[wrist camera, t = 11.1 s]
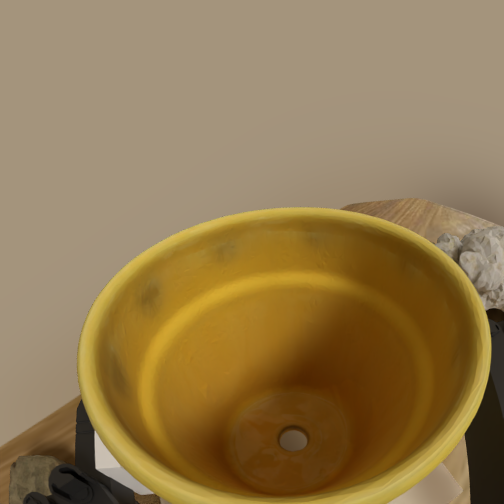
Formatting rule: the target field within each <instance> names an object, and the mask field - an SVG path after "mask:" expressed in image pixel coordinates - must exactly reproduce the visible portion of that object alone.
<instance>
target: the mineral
mask: <svg viewBox="0 0 504 504" xmlns="http://www.w3.org/2000/svg"><path fill="white" fill-rule="evenodd" d="M431 243H432V242H431ZM433 244H434V245H435V246H437V247H438V248H439V249H441V250H442V251H443V252H444V253H446V254H447V255H448V256H449V257H450V258H452V259H453V260H454V261H455V262H456V264H457V265H458V266H459V267H460V268H461V269H462V270H463V271H464V273H465V274H466V275H467V277H468V278H469V280H470V281H471V282H472V284H473V285H474V287H475V289H476V291H477V293H478V295H479V297H480V299H481V300H482V303H483V306H484V308H485V311H486V310H488V309H491V308H497V309H501V310H502V311H503V312H504V228H503V227H502V226H493V227H487V228H485V229H474V230H472V231H471V232H470V233H469V234H467V235H465V236H464V237H463V239H462V240H461V241H459V238H458V237H456V236H453V235H451V234H448V233H444V234H443V235H441V236H440V237H439V238H438V240H437V244H435V243H433Z"/></svg>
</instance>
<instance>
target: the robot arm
mask: <svg viewBox="0 0 504 504" xmlns="http://www.w3.org/2000/svg"><path fill="white" fill-rule="evenodd" d="M488 322H489V327H490V334H491V363H490V371H489V376H488V381H487V385H486V389H485V392H484V395H483V399H482V401H481V404H480V406H479V408H478V411H477V413H476V415H475V417H474V418H473V420H472V422H471V424H470V425H469V427H468V429H467V430H466V432H465V440H466V448H467V456H468V466H469V479H470V501H471V504H504V320H503V321H500V322H497V323H496V322H495V321H493V320H490V319H488ZM76 422H77V424H76V433H77V434H76V442H75V466H74V465H72V464H64V463H63V464H60V465H58V466H56V467H55V468H54V469H53V470H52V471H51V474H50V476H49V482H48V486H49V489H50V492H51V494H52V495H49V496H45V495H43V494H41V493H39V492H30V493H28V494H27V495H26V496H25V498H24V500H23V504H139V503H138V502H137V501H136V500H135V498H134V492H136V493H138V494H140V495H146V494H155V493H153V492H152V491H150V490H149V489H148V488H146V487H145V486H144V485H142V484H141V483H140V482H138V481H137V480H136V479H135V478H134V477H133V476H131V475H130V474H129V473H128V472H127V471H126V470H125V469H124V468H123V467H122V466H121V465H120V464H119V463H118V462H117V461H116V459H115V458H114V457H113V456H112V454H111V453H110V452H109V451H108V449H107V448H106V447H105V445H104V444H103V443H102V441H101V439H100V438H99V436H98V434H97V433H96V431H95V429H94V428H93V426H92V424H91V422H90V419H89V417H88V414H87V412H86V409H85V407H84V404H83V401H82V399H81V401H80V403H79V406H78V408H77V417H76ZM133 491H134V492H133Z"/></svg>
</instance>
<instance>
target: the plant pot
mask: <svg viewBox="0 0 504 504" xmlns="http://www.w3.org/2000/svg"><path fill="white" fill-rule="evenodd" d="M490 363H491V334H490V327H489V322H488V318H487V315H486V311H485V308H484V306H483V303H482V300H481V299H480V297H479V295H478V293H477V291H476V289H475V287H474V285H473V284H472V282H471V281H470V280H469V278H468V277H467V275H466V274H465V273H464V271H463V270H462V269H461V268H460V267H459V266H458V265H457V264H456V262H455V261H454V260H453V259H452V258H450V257H449V256H448V255H447V254H446V253H444V252H443V251H442V250H441V249H439V248H438V247H437V246H435V245H434V244H433V243H431V242H430V241H428V240H426V239H425V238H423V237H422V236H420V235H418V234H416V233H414V232H412V231H411V230H409V229H407V228H404V227H402V226H399V225H397V224H394V223H391V222H389V221H386V220H383V219H380V218H377V217H373V216H369V215H365V214H361V213H356V212H351V211H345V210H337V209H328V208H313V207H294V208H274V209H263V210H256V211H250V212H243V213H238V214H233V215H229V216H225V217H221V218H217V219H214V220H210V221H207V222H204V223H201V224H198V225H196V226H193V227H190V228H188V229H185V230H183V231H181V232H178V233H176V234H174V235H172V236H170V237H168V238H166V239H164V240H162V241H161V242H159V243H157V244H155V245H153V246H152V247H150V248H149V249H147V250H145V251H144V252H143V253H141V254H140V255H138V256H137V257H136V258H134V259H133V260H132V261H130V262H129V263H128V264H127V265H125V266H124V267H123V268H122V269H121V270H120V271H119V272H118V273H117V274H116V275H115V276H114V277H113V278H112V279H111V280H110V281H109V282H108V284H107V285H106V286H105V287H104V288H103V290H102V291H101V292H100V294H99V295H98V297H97V298H96V300H95V301H94V303H93V304H92V306H91V308H90V310H89V313H88V314H87V317H86V320H85V322H84V325H83V328H82V331H81V335H80V339H79V344H78V352H77V374H78V383H79V387H80V393H81V397H82V401H83V404H84V407H85V409H86V412H87V414H88V417H89V419H90V422H91V424H92V426H93V428H94V429H95V431H96V433H97V434H98V436H99V438H100V439H101V441H102V443H103V444H104V445H105V447H106V448H107V449H108V451H109V452H110V453H111V454H112V456H113V457H114V458H115V459H116V461H117V462H118V463H119V464H120V465H121V466H122V467H123V468H124V469H125V470H126V471H127V472H128V473H129V474H130V475H131V476H133V477H134V478H135V479H136V480H137V481H138V482H140V483H141V484H142V485H144V486H145V487H146V488H148V489H149V490H150V491H152V492H153V493H155V494H156V495H158V496H159V497H161V498H163V499H164V500H166V501H168V502H169V503H171V504H387V503H389V502H391V501H392V500H394V499H396V498H397V497H399V496H400V495H402V494H404V493H405V492H407V491H408V490H409V489H411V488H412V487H413V486H415V485H416V484H417V483H419V482H420V481H421V480H423V479H424V478H425V477H426V476H427V475H429V474H430V473H431V472H432V471H433V470H434V469H435V468H436V467H437V466H438V465H439V464H440V463H441V462H442V461H443V460H444V459H445V458H446V457H447V456H448V455H449V454H450V452H451V451H452V450H453V449H454V448H455V446H456V445H457V444H458V442H459V441H460V440H461V438H462V437H463V435H464V433H465V432H466V430H467V429H468V427H469V425H470V424H471V422H472V420H473V418H474V417H475V415H476V413H477V411H478V408H479V406H480V404H481V401H482V399H483V395H484V392H485V389H486V385H487V381H488V376H489V371H490ZM293 430H295V431H299V432H301V433H302V434H304V435H305V437H306V439H307V444H306V446H305V447H304V448H303V449H301V450H297V451H289V450H286V449H284V448H283V447H281V445H280V439H281V437H282V435H283V434H285V433H286V432H288V431H293Z"/></svg>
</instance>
